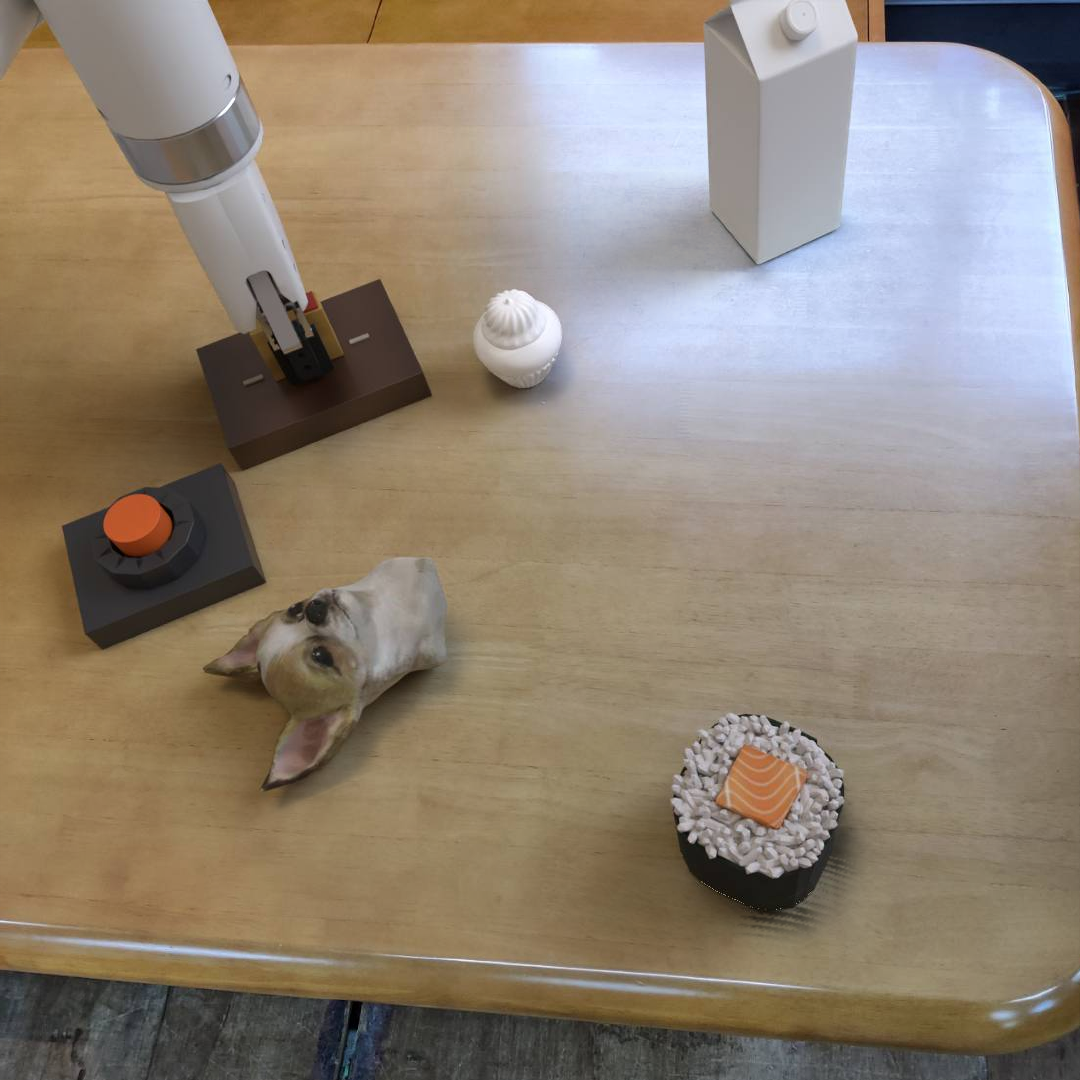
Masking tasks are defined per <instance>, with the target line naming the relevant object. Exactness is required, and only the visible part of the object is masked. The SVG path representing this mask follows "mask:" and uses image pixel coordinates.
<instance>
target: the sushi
mask: <svg viewBox="0 0 1080 1080" xmlns="http://www.w3.org/2000/svg"><path fill="white" fill-rule="evenodd" d="M696 734H697V737H698V739H699V741H697V740H694V742H693V743H692V744H691V745H690V747H691V748H688V747H685V749H684V750H683V751H682V755H683V756H684V758H683V759H682V763H683V768H682V769H681V770H680V771H681V772H680V774H674V775H673V776H672V778H671V780H672V782H673V784H672V785H670V792H671V793H672V794H673V796H672V798H670V799H669V803H670V807H671V808H672V811H673V812H672V813H673V817H674V824H675V829H676V835H677V840H678V847H679V852H680V854H681V853H682V854H681V856H682V855H683V856H682V858H683V860H684V863H685V865H686V867H687V866H688V867H687V869H688V868H689V869H688V871H689V873H691V874H692V875H693V876H694V877H695V879H696V880H697V881H698V882H700V883H701V884H702V885H704V886H705V887H707V888H709V889H710V890H711V891H713V892H715V893H716V894H718V895H721V896H723V897H725V898H728V899H730V900H732V901H734V902H736V903H738V904H741V905H743V906H745V907H748V908H750V909H752V910H756V911H763V912H769V913H775V912H779V911H783V910H787V909H791V908H794V907H796V906H797V905H799V904H801V903H802V902H804V901H805V900H807V899H808V898H809V896H810V895H811V894H812V893H813V892H814V891H815V889H816V887H817V885H818V883H819V881H820V878H821V877H822V875H823V872H824V870H825V868H826V866H827V864H828V862H829V859H830V857H831V856H832V852H833V848H834V842H835V839H836V838H835V837H836V832H837V827H838V826H839V825H838V823H839V820H840V817H841V813H842V811H843V807H844V804H845V784H844V780H843V777H844V775H845V770H843V769H839V767H838V766H837V764H836V762H835V761H834V760H833V758H832V756H830V755H829V754H828V753H827V752H826V751H825V750H824V749H823V748H822V747H821V746H820V745H819V744H818V739H817V738H816V737H814V736H812V735H810V734H809V733H806V732H804V731H802V730H801V729H800V728H795V727H794V726H791V725H790V724H789V722H788V721H783V722H781V721H779V720H776V719H774V718H771V717H769V716H767V715H765V714H763V715H760V714H753V713H752V714H751V713H742V714H736V713H732V712H727V713H726V715H725V716H721V715H720V716H719V717H717V722H716V723H714V724H713V725H712V726H711V727H710V728H709V729H707V730H705V729H703V728H700V729H699V730H697V731H696ZM829 856H830V857H829ZM822 871H823V872H822ZM701 881H702V882H703V883H702V882H701ZM704 883H705V884H706V885H705V884H704ZM707 885H708V886H710V887H711V888H710V887H708V886H707ZM712 888H713V889H714V890H713V889H712ZM715 890H716V891H718V892H716V891H715ZM811 891H812V892H811ZM719 892H720V893H719ZM810 892H811V893H810ZM721 893H722V894H721ZM809 893H810V894H809ZM723 894H725V895H726V896H725V895H723ZM808 894H809V895H808ZM728 896H729V897H728ZM732 898H733V899H732ZM804 898H805V899H804ZM734 899H736V900H734ZM737 900H738V901H737ZM739 901H740V902H739ZM799 901H800V902H799ZM741 902H742V903H741ZM743 903H744V904H743ZM796 903H797V904H796ZM750 906H751V907H750ZM752 907H753V908H752ZM758 908H759V909H758ZM780 908H781V909H780ZM765 909H766V910H765ZM776 909H777V910H776Z"/></svg>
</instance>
